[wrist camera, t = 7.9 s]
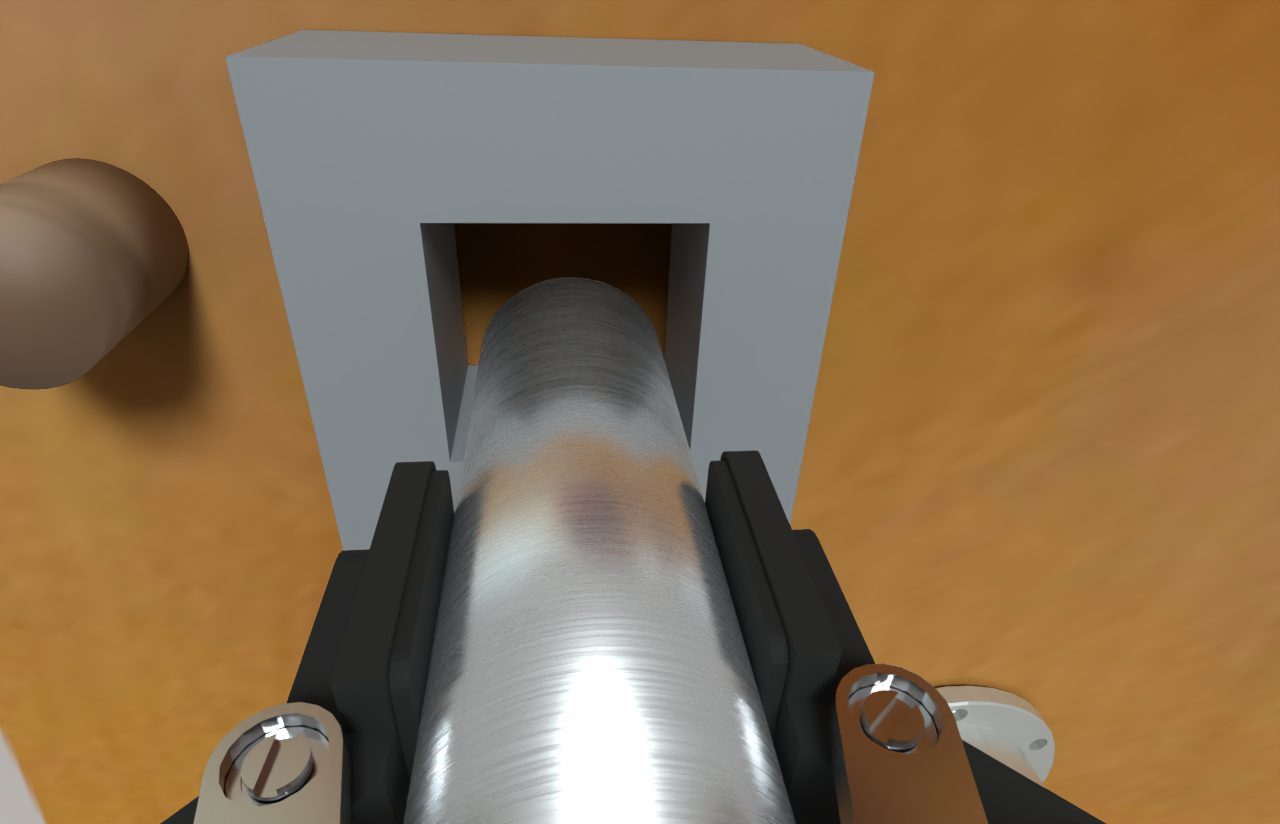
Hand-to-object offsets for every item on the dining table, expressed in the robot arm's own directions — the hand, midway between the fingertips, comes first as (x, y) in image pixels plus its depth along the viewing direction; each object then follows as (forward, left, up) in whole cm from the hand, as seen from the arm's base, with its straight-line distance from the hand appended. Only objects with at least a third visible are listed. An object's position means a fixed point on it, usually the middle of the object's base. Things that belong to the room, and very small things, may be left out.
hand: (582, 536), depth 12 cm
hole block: (0, 0, -11) cm, 11 cm away
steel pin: (0, 0, -6) cm, 6 cm away
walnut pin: (+1, +12, -11) cm, 17 cm away
